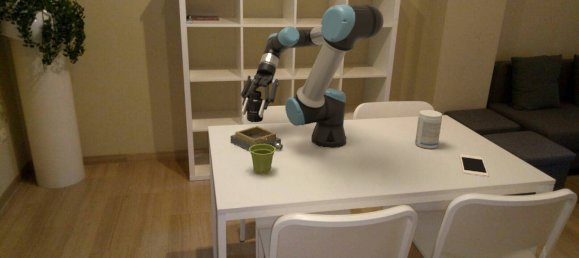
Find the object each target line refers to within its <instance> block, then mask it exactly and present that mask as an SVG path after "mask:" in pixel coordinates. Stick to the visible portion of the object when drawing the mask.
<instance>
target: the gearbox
mask: <svg viewBox="0 0 579 258" xmlns="http://www.w3.org/2000/svg"><path fill="white" fill-rule="evenodd" d="M230 143H231V144H233V145H235V146H237V147H239V148H242V149H244V150H246V151H248V152H250V151H249V148H250V147H251V146H253V145H257V144H268V145H271V146H274V147H275V149H277V150H278V151H281V150H283V144H282V138H280V137H278V136H277V133H275V132H273V131H271V130H268V129H265V128H263V127H261V126H258V125H256V126H251V127H250V128H245V129H242V130H241V129H240V130H238V131H235V133H234V134H232V135H230Z"/></svg>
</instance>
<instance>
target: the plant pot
mask: <svg viewBox="0 0 579 258" xmlns="http://www.w3.org/2000/svg"><path fill="white" fill-rule="evenodd" d="M248 152H250V155H251V160H252V166H253V171H254V173H255V174H259V175H262V174H269V173H270V172H271V171H272V170H271V169H272V163H273V159H274V158H273V157H274V154H275V153H276V148H275V147H274V146H271V145H268V144H257V145H253V146H251V147H250V148H249V151H248Z"/></svg>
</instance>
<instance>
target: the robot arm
mask: <svg viewBox="0 0 579 258" xmlns="http://www.w3.org/2000/svg"><path fill="white" fill-rule="evenodd" d="M384 20H385V19H384V16H383V13H382V11H381V10H380V9H379V8H378V7H376V6H374V5H371V4H346V3H345V4H343V3H342V4H339V5H338V4H337V5H333V6H330V7H329V8H328V9H326V11H325V12H324V14H323V16H322V18H321V21H320V25H317V26H314V27H311V28H300V29H299V28H298V29H297V28H296V27H293V26H290V25H289V26H286V27H284V28H283V29H281V30H280V31H278V33H277V32H275V33H270V35H269V37H268V38H267V40H266V43H265V45H264V46H265V47H264V50H263V52H262V55H261V59H260V61H259V64H258V67H257V69H256V73H255V74H254V76H251V75H248V76H247V79H246V83H245V84H244V86H243V89H242V91H241V93H240V96H241V97H242V99H243V101H242V104H241V105H242V109H241V113H242V115H244V116H246V115H247V99H248V98H250V96H249V95H250V91H257V89H259V88H260V87H263V88H264V99H263V102H262V105H261V108H260V111H259V116H260V117H262V116H263V117H264V112H265V111H266V110H267V109H268V106H269V104H270V103H275V98H276V94H277V89H278V86H279V84H280V82H279V80H278V78H275V79H274V77H275V75H276V72H277V68H278V65H279V62H280V59H281V57H282V54H283V53H284V52H286V51H287V50H289V49H297V48H309V47H311V48H312V47H315V48H316V47H320V46H321V48H320V51H318V54H317V57H316V59H315V61H314V63H313V65H312V68H311V70H310V71H309V74H308V76H307V78H306V80H305V82H304V85H303V86H301V87H299V88H298V89H297V91H296V93H295V95H294V96H290V97H288V98H287V99H286V101H285V103H284V104H285V105H284V107H285V108H284V110H285V114H286V117H287V119H288V121H289V122H290V123H291V124H292V125H293V126H296V127H298V126H305V125H311V124H315V126H314V129H313V130H312V133H311V138H310V141H311V143H312V145H316V146H317V147H320V148H327V149H337V148H342V147H345V145H346V144H347V136H346V131H345V128H344V124H345V123H344V121H345V111H346V104H347V102H346V100H347V99H346V98H347V97H346V93H345V92H343V91H342V90H339V89H335V88H330V87H329V86H330V85H331V83H332V80H334V76H335V74H336V72H337V71H338V69H339V67H340V65H341V62H342V61H343V58H344V57H345V55H346V53H348V52H351V51H352V50H353V49H354V47H355V45H356V44H357V41H358V40H368V39H371V38H375V37H376V36H377V35H379V34H380V32H381V31H382V30H383V27H384ZM252 83H253V84H252ZM271 84H272V87H271V92H270V85H271Z"/></svg>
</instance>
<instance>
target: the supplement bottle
mask: <svg viewBox="0 0 579 258" xmlns="http://www.w3.org/2000/svg"><path fill="white" fill-rule="evenodd" d="M262 93H263V92H262V91H260V90H256V91H250V95H249V96H250V98H248V99H247V111H246V120H247V121H248V122H250V123H261V122H262V121H263V120H264V115H263V116H262V117H260V116H259V111H260V108H261V105H262V102H263V100H264V99H263V97H262V96H263V94H262Z"/></svg>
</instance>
